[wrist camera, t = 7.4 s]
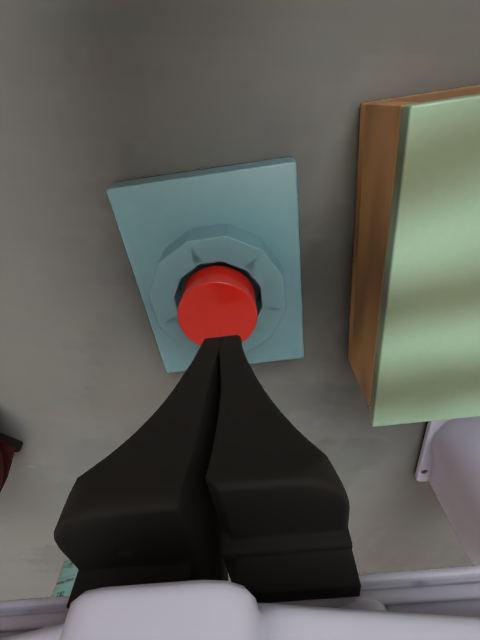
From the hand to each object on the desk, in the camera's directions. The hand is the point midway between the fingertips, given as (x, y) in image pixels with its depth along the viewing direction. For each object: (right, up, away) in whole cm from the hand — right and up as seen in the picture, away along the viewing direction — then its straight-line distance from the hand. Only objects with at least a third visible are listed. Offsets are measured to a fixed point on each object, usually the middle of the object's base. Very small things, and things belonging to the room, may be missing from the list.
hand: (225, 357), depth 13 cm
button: (-1, +2, +4) cm, 5 cm away
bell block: (-1, +4, +6) cm, 7 cm away
